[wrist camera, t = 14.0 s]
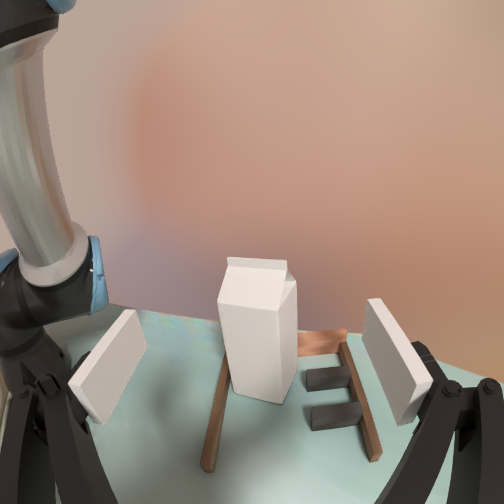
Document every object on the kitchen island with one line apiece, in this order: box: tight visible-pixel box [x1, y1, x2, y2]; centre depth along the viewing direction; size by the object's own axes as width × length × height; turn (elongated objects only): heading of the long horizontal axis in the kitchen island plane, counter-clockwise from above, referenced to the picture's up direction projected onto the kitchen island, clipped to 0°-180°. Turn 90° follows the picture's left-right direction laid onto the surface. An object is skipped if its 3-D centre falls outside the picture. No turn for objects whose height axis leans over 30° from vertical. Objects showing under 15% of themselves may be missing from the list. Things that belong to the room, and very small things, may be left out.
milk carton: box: [217, 257, 297, 404], centre depth 34 cm, size 7×7×19 cm
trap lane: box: [200, 329, 383, 472], centre depth 31 cm, size 19×22×4 cm
